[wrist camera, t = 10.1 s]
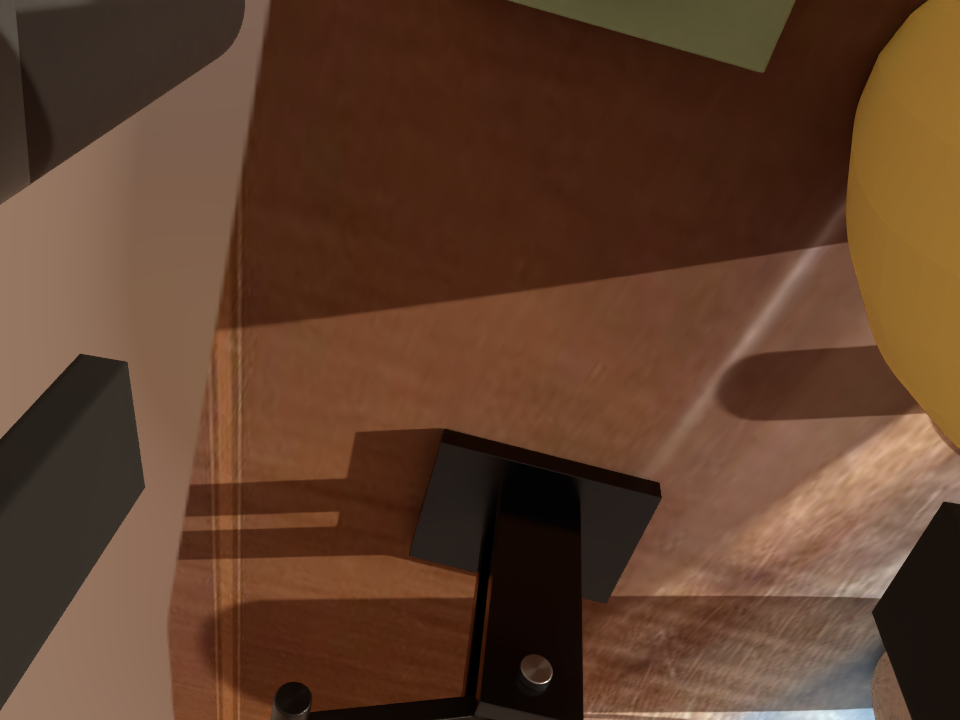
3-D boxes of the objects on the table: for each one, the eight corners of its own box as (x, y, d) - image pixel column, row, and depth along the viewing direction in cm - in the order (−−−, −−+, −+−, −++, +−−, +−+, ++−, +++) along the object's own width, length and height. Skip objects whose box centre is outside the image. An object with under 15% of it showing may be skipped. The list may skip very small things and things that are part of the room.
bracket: (411, 540, 47) (361, 768, 36) (444, 427, 42) (396, 651, 31) (605, 588, 48) (615, 826, 37) (660, 482, 43) (691, 721, 32)
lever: (261, 738, 34) (263, 796, 32) (272, 671, 31) (275, 730, 29) (524, 709, 38) (539, 759, 36) (554, 647, 35) (572, 698, 33)
